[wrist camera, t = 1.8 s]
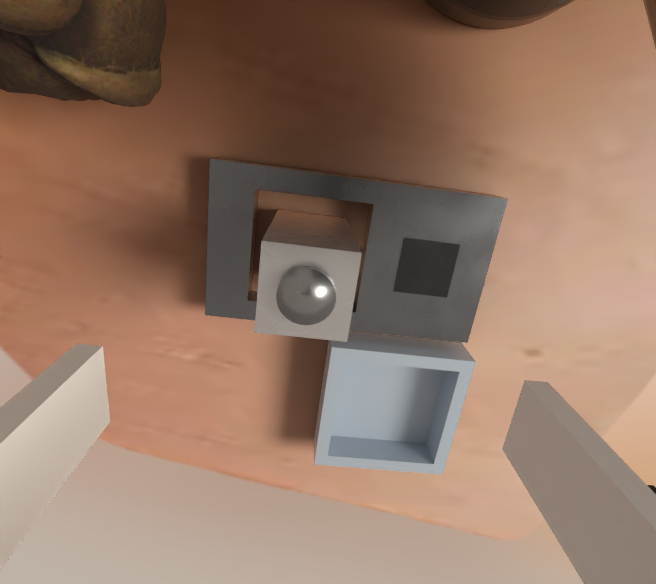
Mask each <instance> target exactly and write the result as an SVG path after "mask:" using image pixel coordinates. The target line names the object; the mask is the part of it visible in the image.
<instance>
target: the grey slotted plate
mask: <svg viewBox="0 0 656 584" xmlns="http://www.w3.org/2000/svg"><path fill="white" fill-rule="evenodd" d="M259 189H262V190H269V191H277V192H285V193H292V194H300V195H308V196H315V197H323V198H330V199H338V200H346V201H353V202H361V203H369V210H368V216H367V222H366V228H365V234H364V241H363V247H362V256H361V262H360V268H359V274H358V280H357V286H356V292H355V298H354V304H353V310H352V316H351V322H350V328H349V330H352V331H362V332H371V333H381V334H390V335H400V336H409V337H419V338H428V339H438V340H447V341H457V342H466V343H467V342H468V339H469V335H470V332H471V328H472V324H473V321H474V317H475V314H476V310H477V307H478V303H479V300H480V296H481V292H482V289H483V285H484V282H485V278H486V275H487V271H488V268H489V264H490V260H491V257H492V253H493V250H494V246H495V243H496V239H497V236H498V232H499V228H500V225H501V221H502V218H503V214H504V211H505V207H506V203H507V200H508V199H506V198H503V197H499V196H496V195H488V194H481V193H474V192H466V191H459V190H452V189H444V188H437V187H429V186H422V185H415V184H407V183H400V182H393V181H385V180H378V179H370V178H363V177H356V176H348V175H341V174H333V173H326V172H319V171H311V170H304V169H297V168H289V167H282V166H274V165H267V164H260V163H252V162H245V161H238V160H230V159H223V158H211V159H210V167H209V201H208V235H207V270H206V304H205V315H210V316H220V317H229V318H239V319H248V320H255V318H256V305H257V292H255V291H252V277H253V263H254V249H255V235H256V221H257V206H258V192H259Z"/></svg>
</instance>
